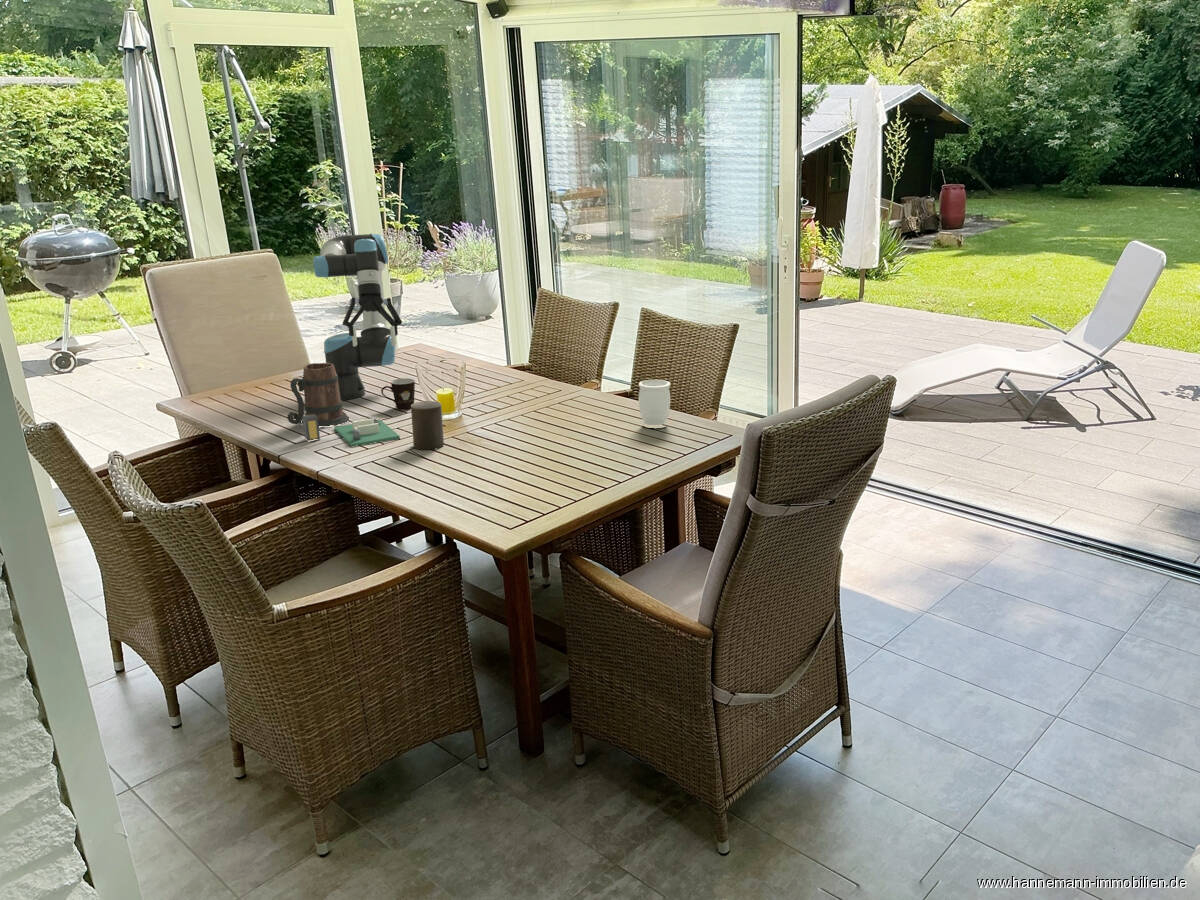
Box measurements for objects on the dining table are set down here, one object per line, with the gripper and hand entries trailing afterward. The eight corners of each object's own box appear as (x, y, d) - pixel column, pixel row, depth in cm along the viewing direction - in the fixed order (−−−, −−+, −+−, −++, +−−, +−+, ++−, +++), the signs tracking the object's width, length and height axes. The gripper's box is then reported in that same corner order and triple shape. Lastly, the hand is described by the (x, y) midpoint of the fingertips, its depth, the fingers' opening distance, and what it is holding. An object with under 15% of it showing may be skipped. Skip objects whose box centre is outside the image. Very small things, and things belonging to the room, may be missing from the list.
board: (334, 429, 330) (333, 418, 329) (380, 422, 338) (379, 411, 336) (351, 447, 312) (350, 435, 311) (399, 438, 319) (398, 427, 318)
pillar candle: (430, 452, 306) (427, 406, 301) (407, 447, 311) (403, 402, 306) (450, 443, 313) (447, 399, 309) (427, 439, 318) (424, 395, 314)
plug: (305, 439, 321) (302, 416, 319) (317, 437, 323) (314, 414, 321) (308, 442, 318) (305, 419, 315) (320, 440, 320) (317, 417, 317)
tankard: (327, 411, 352) (320, 357, 346) (360, 418, 343) (354, 363, 337) (274, 428, 334) (267, 372, 327) (308, 435, 325) (300, 378, 318)
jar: (674, 423, 328) (674, 380, 324) (663, 432, 320) (663, 388, 315) (645, 420, 333) (645, 377, 328) (634, 428, 324) (633, 385, 319)
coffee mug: (419, 404, 358) (417, 378, 355) (413, 411, 350) (411, 384, 347) (389, 404, 359) (386, 378, 356) (382, 410, 351) (379, 384, 348)
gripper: (335, 281, 325) (341, 343, 324) (407, 282, 337) (413, 342, 336) (330, 286, 331) (335, 348, 330) (400, 287, 344) (406, 346, 343)
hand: (374, 345), depth 333 cm, fingers open, 13 cm apart
